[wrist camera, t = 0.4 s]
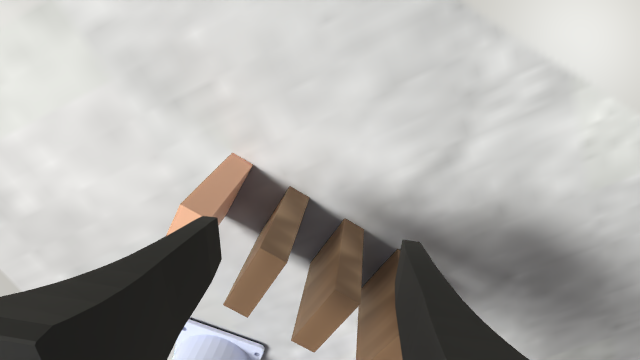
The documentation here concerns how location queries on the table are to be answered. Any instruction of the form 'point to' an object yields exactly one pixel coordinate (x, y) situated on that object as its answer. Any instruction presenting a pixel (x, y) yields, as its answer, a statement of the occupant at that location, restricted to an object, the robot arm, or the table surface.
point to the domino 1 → (213, 193)
